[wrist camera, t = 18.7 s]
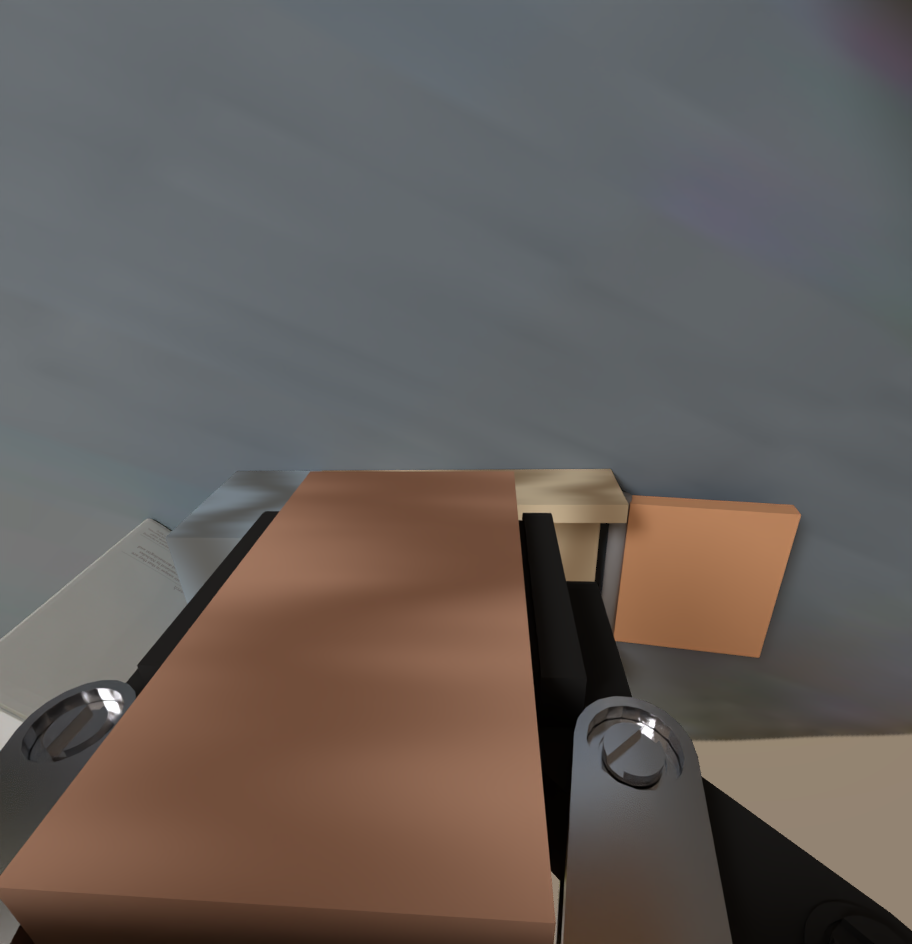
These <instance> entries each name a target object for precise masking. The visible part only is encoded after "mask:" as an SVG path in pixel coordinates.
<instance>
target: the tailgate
mask: <svg viewBox="0 0 912 944" xmlns="http://www.w3.org/2000/svg"><path fill="white" fill-rule="evenodd" d="M622 493H623V495H624V496H625V498H626V500H627V502H628V504H629V506H628V514H627V522H626V523H609V531H608V540H607V550H606V559H605V568H604V577H603V587H602V599H603V603H604V606H605V609H606V613H607V616H608V619H609V623H610V626H611V629H612V632H613V636H614V639H615V641H621V642H629V643H638V644H646V645H655V646H663V647H672V648H680V649H689V650H697V651H706V652H715V653H723V654H732V655H740V656H749V657H757V658H759V657H760V653H761V650H762V646H763V643H764V639H765V636H766V633H767V629H768V626H769V622H770V619H771V616H772V612H773V609H774V605H775V602H776V599H777V595H778V592H779V588H780V585H781V581H782V578H783V575H784V571H785V568H786V564H787V561H788V558H789V554H790V551H791V547H792V544H793V541H794V537H795V534H796V530H797V527H798V524H799V520H800V517H801V514H800V513H799V512H798V510H797V509H796V508H795V507H794V505H785V504H768V503H752V502H735V501H719V500H702V499H686V498H669V497H653V496H637V495H631V494H630V493H627V492H623V491H622Z"/></svg>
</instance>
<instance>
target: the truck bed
mask: <svg viewBox="0 0 912 944" xmlns="http://www.w3.org/2000/svg"><path fill="white" fill-rule="evenodd" d="M350 471H514V477H515V488H516V499H517V510H518V520H522V514H523V513H552V517H553V522H554V526H555V531H556V536H557V540H558V545H559V550H560V555H561V559H562V564H563V569H564V573H565V578H566V581H593V582H595V572H596V562H597V552H598V542H599V532H600V523H626V522H627V514H628V506H629V504H628V502H627V500H626V498H625V496H624V495H623V493H622V491H621V489H620V487H619V485H618V483H617V481H616V479H615V477H614V475H613V473H612V471H611V469H522V470H350ZM309 472H310V471H237V472H235V473H234V474H233V475H232V476H231V477H230V478H229V479H228V480H227V481H226V482H225V483H224V484H222V485H221V486H220V487H219V488H218V489H217V490H216V491H215V492H214V493H213V494H212V495H211V496H209V497H208V498H207V499H206V500H205V501H204V502H203V503H202V504H201V505H200V506H199V507H198V508H196V509H195V510H194V511H193V512H192V513H191V514H190V515H189V516H188V517H187V518H186V519H185V520H183V521H182V522H181V523H180V524H179V525H178V526H177V527H176V528H175V529H174V530H173V531H172V532H170V533H169V534H168V535H167V536H166V537H165V539H166V542H167V545H168V548H169V551H170V554H171V557H172V560H173V563H174V566H175V569H176V572H177V575H178V578H179V581H180V584H181V587H182V590H183V593H184V596H185V599H186V602H187V604H188V603H189V602H190V600H191V599H192V598H193V597H194V596H195V594H196V593H197V592H198V591H199V589H200V588H201V587H202V586H203V585H204V583H205V582H206V581H207V580H208V579H209V577H210V576H211V575H212V574H213V573H214V571H215V570H216V569H217V568H218V567H219V565H220V564H221V563H222V562H223V560H224V559H225V558H226V557H227V556H228V554H229V553H230V552H231V551H232V550H233V548H234V547H235V546H236V545H237V544H238V542H239V541H240V540H241V539H242V537H243V536H244V535H245V534H246V533H247V531H248V530H249V529H250V528H251V527H252V525H253V524H254V523H255V522H256V521H257V519H258V518H259V517H260V516H261V515H262V513H264V512H265V511H280V510H281V509H282V508H283V506H284V505H285V504H286V502H287V501H288V500H289V499H290V497H291V496H292V495H293V493H294V492H295V491H296V489H297V488H298V487H299V486H300V484H301V483H302V482H303V480H304V479H305V478H306V476H307V475H308V474H309Z"/></svg>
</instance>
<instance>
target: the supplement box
mask: <svg viewBox="0 0 912 944" xmlns="http://www.w3.org/2000/svg"><path fill="white" fill-rule="evenodd" d="M170 532H172V531H170V530H169V529H168V528H166V527H164V526H163V525H161V524H160V523H158V522H156V521H155V520H153V519H146V520H145V521H144V522H142V523H141V524H140V525H139V526H137V527H136V528H135V529H134V530H132V531H131V532H130V533H129V534H127V535H126V536H125V537H124V538H123V539H121V540H120V541H119V542H118V543H116V544H115V545H114V546H113V547H112V548H110V549H109V550H108V551H107V552H106V553H104V554H103V555H102V556H101V557H100V558H98V559H97V560H96V561H95V562H93V563H92V564H91V565H90V566H89V567H87V568H86V569H85V570H84V571H83V572H81V573H80V574H79V575H78V576H76V577H75V578H74V579H73V580H72V581H70V582H69V583H68V584H67V585H66V586H64V587H63V588H62V589H61V590H60V591H58V592H57V593H56V594H55V595H54V596H52V597H51V598H50V599H49V600H48V601H46V602H45V603H44V604H43V605H42V606H40V607H39V608H38V609H37V610H36V611H34V612H33V613H32V614H31V615H29V616H28V617H27V618H26V619H25V620H23V621H22V622H21V623H20V624H19V625H17V626H16V627H15V628H14V629H12V630H11V631H10V632H9V633H8V634H6V635H5V636H4V637H3V638H1V639H0V751H1V749H2V748H3V747H4V745H5V744H6V743H7V741H8V740H9V739H10V737H11V736H12V735H13V733H14V732H15V731H16V730H17V729H18V727H19V726H20V725H21V724H22V723H23V722H24V721H25V720H26V719H27V718H28V717H29V716H30V715H31V714H32V713H33V712H35V711H36V710H37V709H39V708H40V707H41V706H42V705H44V704H45V703H46V702H48V701H50V700H51V699H53V698H55V697H57V696H58V695H60V694H62V693H64V692H65V691H68V690H70V689H73V688H75V687H78V686H80V685H83V684H86V683H91V682H95V681H100V680H118V681H121V682H124V683H126V682H127V681H128V680H129V678H130V677H131V676H132V675H133V673H134V672H135V671H136V670H137V669H138V667H137V664H138V663H139V662H140V661H141V660H142V658H143V657H144V656H145V655H146V654H147V652H148V651H149V650H150V649H151V648H152V646H153V645H154V644H155V643H156V641H157V640H158V639H159V638H160V637H161V635H162V634H163V633H164V632H165V631H166V629H167V628H168V627H169V626H170V625H171V623H172V622H173V621H174V620H175V619H176V617H177V616H178V615H179V614H180V612H181V611H182V610H183V609H184V608H185V606H186V605H187V602H186V599H185V596H184V593H183V590H182V587H181V584H180V581H179V578H178V575H177V572H176V569H175V566H174V563H173V560H172V557H171V554H170V551H169V548H168V545H167V542H166V539H165V537H166V536H167V535H168V534H169V533H170Z"/></svg>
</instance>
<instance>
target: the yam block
mask: <svg viewBox="0 0 912 944" xmlns="http://www.w3.org/2000/svg"><path fill="white" fill-rule="evenodd" d="M0 899H1V900H2V902H3V903H4V904H5V905H6V907H7V908H8V909H9V911H10V912H11V913H12V915H13V916H14V917H15V918H16V920H17V921H18V922H19V924H20V925H21V926H22V928H23V929H24V930H25V931H26V933H27V934H28V935H29V937H30V938H31V939H32V941H33V942H34V943H35V944H553V942H554V933H555V924H556V923H555V912H554V901H553V890H552V879H551V868H550V857H549V847H548V836H547V825H546V814H545V803H544V792H543V781H542V771H541V760H540V749H539V738H538V727H537V716H536V705H535V694H534V684H533V673H532V662H531V651H530V640H529V629H528V618H527V607H526V597H525V586H524V575H523V564H522V553H521V542H520V531H519V521H518V510H517V499H516V488H515V477H514V471H310V472H309V474H308V475H307V476H306V478H305V479H304V480H303V482H302V483H301V484H300V486H299V487H298V488H297V489H296V491H295V492H294V493H293V495H292V496H291V497H290V499H289V500H288V501H287V502H286V504H285V505H284V506H283V508H282V509H281V510H280V512H279V513H278V514H277V515H276V517H275V518H274V519H273V521H272V522H271V523H270V525H269V526H268V527H267V529H266V530H265V531H264V532H263V534H262V535H261V536H260V538H259V539H258V540H257V542H256V543H255V544H254V545H253V547H252V548H251V549H250V551H249V552H248V553H247V555H246V556H245V557H244V559H243V560H242V561H241V562H240V564H239V565H238V566H237V568H236V569H235V570H234V572H233V573H232V574H231V575H230V577H229V578H228V579H227V581H226V582H225V583H224V585H223V586H222V587H221V589H220V590H219V591H218V592H217V594H216V595H215V596H214V598H213V599H212V600H211V602H210V603H209V604H208V605H207V607H206V608H205V609H204V611H203V612H202V613H201V615H200V616H199V617H198V619H197V620H196V621H195V622H194V624H193V625H192V626H191V628H190V629H189V630H188V632H187V633H186V634H185V635H184V637H183V638H182V639H181V641H180V642H179V643H178V645H177V646H176V647H175V648H174V650H173V651H172V652H171V654H170V655H169V656H168V658H167V659H166V660H165V662H164V663H163V664H162V665H161V667H160V668H159V669H158V671H157V672H156V673H155V675H154V676H153V677H152V678H151V680H150V681H149V682H148V684H147V685H146V686H145V688H144V689H143V690H142V692H141V693H140V694H139V695H138V697H137V698H136V699H135V701H134V702H133V703H132V705H131V706H130V707H129V708H128V710H127V711H126V712H125V714H124V715H123V716H122V718H121V719H120V720H119V722H118V723H117V724H116V725H115V727H114V728H113V729H112V731H111V732H110V733H109V735H108V736H107V737H106V738H105V740H104V741H103V742H102V744H101V745H100V746H99V748H98V749H97V750H96V751H95V753H94V754H93V755H92V757H91V758H90V759H89V761H88V762H87V763H86V765H85V766H84V767H83V768H82V770H81V771H80V772H79V774H78V775H77V776H76V778H75V779H74V780H73V781H72V783H71V784H70V785H69V787H68V788H67V789H66V791H65V792H64V793H63V795H62V796H61V797H60V798H59V800H58V801H57V802H56V804H55V805H54V806H53V808H52V809H51V810H50V811H49V813H48V814H47V815H46V817H45V818H44V819H43V821H42V822H41V823H40V825H39V826H38V827H37V828H36V830H35V831H34V832H33V834H32V835H31V836H30V838H29V839H28V840H27V841H26V843H25V844H24V845H23V847H22V848H21V849H20V851H19V852H18V853H17V854H16V856H15V857H14V858H13V860H12V861H11V862H10V864H9V865H8V866H7V868H6V869H5V870H4V871H3V873H2V874H1V875H0Z"/></svg>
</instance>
